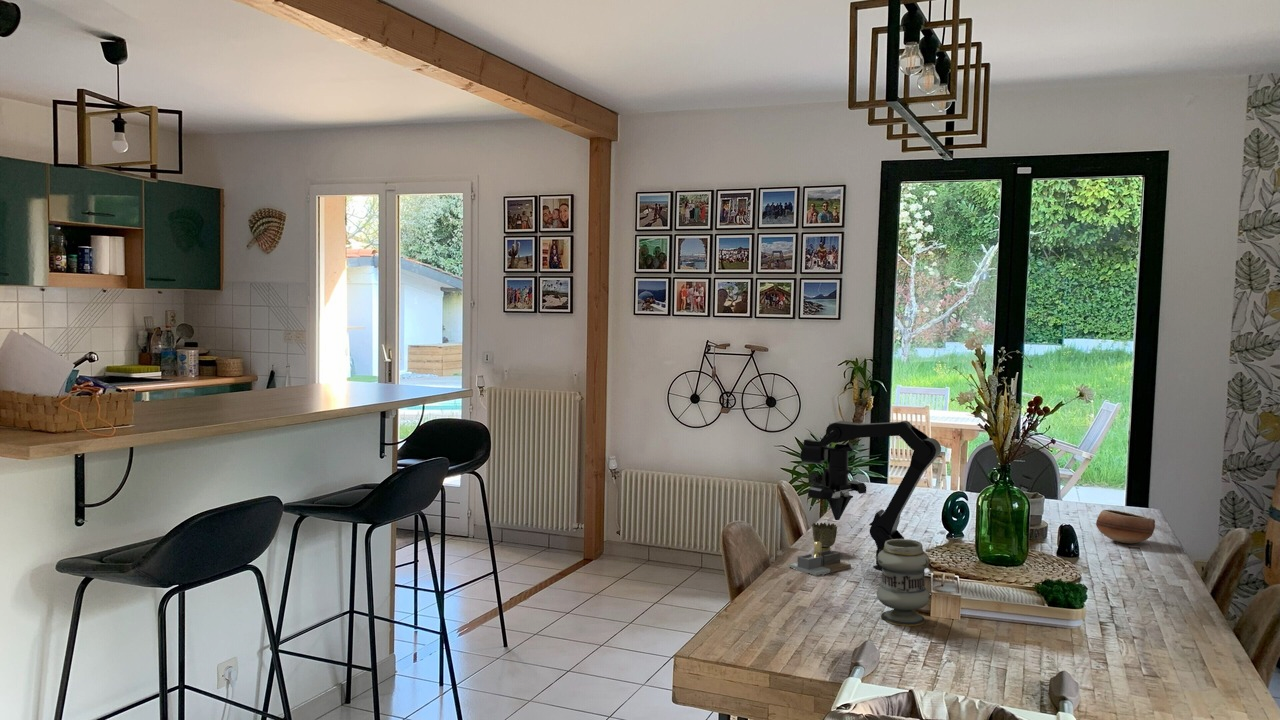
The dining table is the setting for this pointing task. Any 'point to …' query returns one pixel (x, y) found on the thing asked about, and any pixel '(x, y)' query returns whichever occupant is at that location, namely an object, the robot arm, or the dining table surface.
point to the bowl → (1125, 526)
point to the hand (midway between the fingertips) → (837, 519)
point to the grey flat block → (833, 561)
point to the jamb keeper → (810, 565)
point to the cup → (824, 535)
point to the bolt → (817, 551)
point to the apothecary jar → (903, 581)
